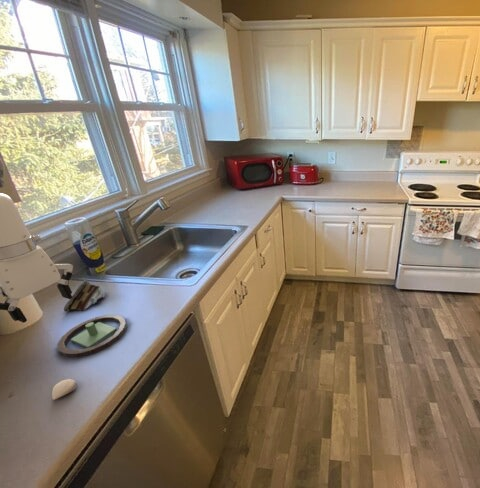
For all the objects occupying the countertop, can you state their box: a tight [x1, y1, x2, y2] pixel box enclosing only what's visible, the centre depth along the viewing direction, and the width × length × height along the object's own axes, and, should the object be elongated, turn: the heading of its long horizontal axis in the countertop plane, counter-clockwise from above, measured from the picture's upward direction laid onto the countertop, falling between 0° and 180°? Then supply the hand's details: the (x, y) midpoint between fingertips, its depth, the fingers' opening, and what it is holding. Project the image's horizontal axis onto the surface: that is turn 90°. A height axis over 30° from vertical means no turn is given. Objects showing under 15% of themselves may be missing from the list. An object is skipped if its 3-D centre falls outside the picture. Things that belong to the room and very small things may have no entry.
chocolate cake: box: [63, 278, 106, 313], centre depth 98 cm, size 10×7×12 cm
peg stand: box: [70, 322, 118, 349], centre depth 82 cm, size 8×8×4 cm
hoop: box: [57, 314, 128, 358], centre depth 83 cm, size 16×16×1 cm
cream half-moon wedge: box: [51, 378, 77, 400], centre depth 66 cm, size 4×5×2 cm
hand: (46, 308), depth 71 cm, fingers open, 9 cm apart
